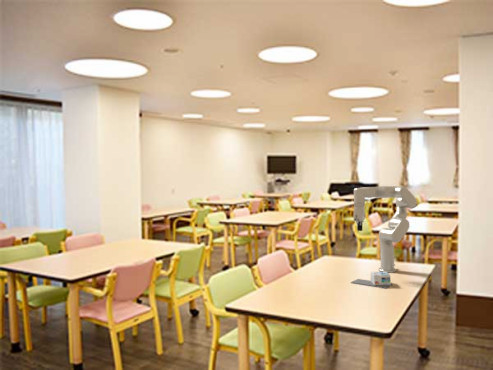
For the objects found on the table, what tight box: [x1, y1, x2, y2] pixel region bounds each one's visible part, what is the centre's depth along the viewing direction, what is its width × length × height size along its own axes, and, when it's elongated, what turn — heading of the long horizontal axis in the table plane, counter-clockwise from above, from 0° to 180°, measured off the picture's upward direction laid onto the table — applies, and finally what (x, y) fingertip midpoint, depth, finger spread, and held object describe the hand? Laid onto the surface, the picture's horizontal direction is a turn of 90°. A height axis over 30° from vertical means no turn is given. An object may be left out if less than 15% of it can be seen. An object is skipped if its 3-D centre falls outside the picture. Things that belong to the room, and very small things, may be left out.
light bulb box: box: [370, 271, 392, 285], centre depth 274 cm, size 11×7×11 cm
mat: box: [350, 278, 393, 290], centre depth 275 cm, size 10×24×1 cm, turn 49°
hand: (359, 230), depth 300 cm, fingers closed
